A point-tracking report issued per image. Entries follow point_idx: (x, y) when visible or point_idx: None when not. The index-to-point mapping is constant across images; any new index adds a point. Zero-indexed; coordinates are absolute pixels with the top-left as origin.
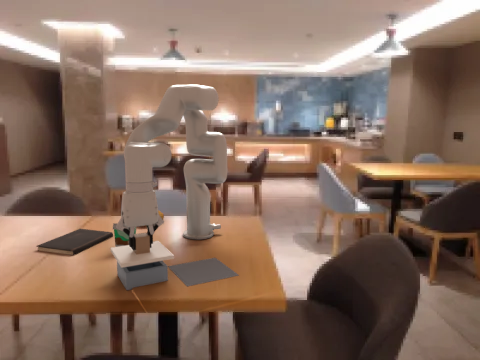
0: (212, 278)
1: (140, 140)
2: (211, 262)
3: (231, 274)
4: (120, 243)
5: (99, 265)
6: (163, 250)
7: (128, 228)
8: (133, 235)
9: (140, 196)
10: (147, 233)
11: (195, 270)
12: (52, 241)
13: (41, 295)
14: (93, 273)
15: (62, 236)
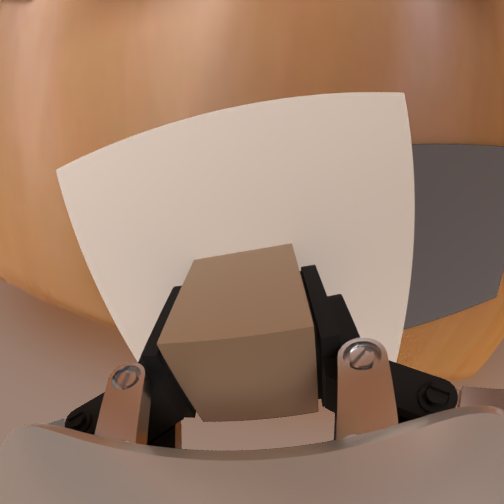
0: (451, 303)
1: None
2: (499, 183)
3: (490, 288)
4: None
5: (91, 54)
6: (382, 308)
7: (107, 428)
8: (180, 426)
9: None
10: (321, 364)
11: (447, 232)
12: None
13: (14, 262)
14: (74, 132)
15: None
